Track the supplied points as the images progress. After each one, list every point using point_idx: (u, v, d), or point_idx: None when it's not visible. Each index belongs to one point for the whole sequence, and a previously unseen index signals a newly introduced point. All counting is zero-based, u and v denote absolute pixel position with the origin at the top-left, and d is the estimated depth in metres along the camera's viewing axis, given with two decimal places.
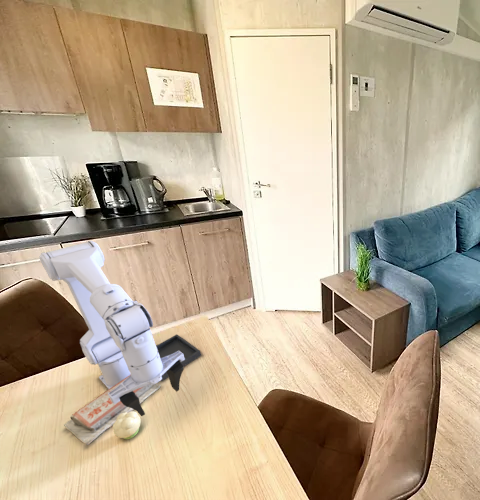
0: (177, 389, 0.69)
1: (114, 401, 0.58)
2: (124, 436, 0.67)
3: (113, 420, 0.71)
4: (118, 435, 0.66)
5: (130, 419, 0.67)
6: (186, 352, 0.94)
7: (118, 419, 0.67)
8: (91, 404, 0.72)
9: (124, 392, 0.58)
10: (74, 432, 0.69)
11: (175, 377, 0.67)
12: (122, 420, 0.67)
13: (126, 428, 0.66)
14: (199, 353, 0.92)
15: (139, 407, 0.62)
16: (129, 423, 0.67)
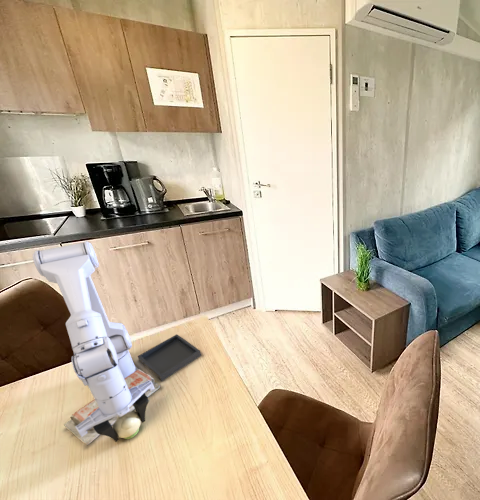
0: (143, 420, 0.70)
1: (81, 434, 0.60)
2: (124, 436, 0.67)
3: (113, 420, 0.71)
4: (118, 435, 0.66)
5: (130, 419, 0.67)
6: (186, 352, 0.94)
7: (118, 419, 0.67)
8: (91, 404, 0.72)
9: (91, 425, 0.61)
10: (74, 432, 0.69)
11: (140, 410, 0.68)
12: (122, 420, 0.67)
13: (126, 428, 0.66)
14: (199, 353, 0.92)
15: (113, 434, 0.65)
16: (129, 423, 0.67)
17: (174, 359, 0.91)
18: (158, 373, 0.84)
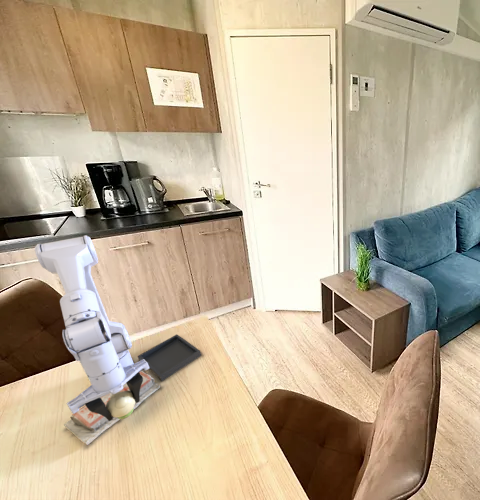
0: (137, 400, 0.69)
1: (73, 411, 0.58)
2: (118, 415, 0.65)
3: (113, 420, 0.71)
4: (112, 414, 0.65)
5: (124, 398, 0.66)
6: (186, 352, 0.94)
7: (112, 398, 0.65)
8: None
9: (83, 402, 0.59)
10: (74, 432, 0.69)
11: (134, 389, 0.67)
12: (116, 399, 0.65)
13: (120, 407, 0.65)
14: (199, 353, 0.92)
15: (106, 412, 0.63)
16: (123, 402, 0.65)
17: (174, 359, 0.91)
18: (158, 373, 0.84)
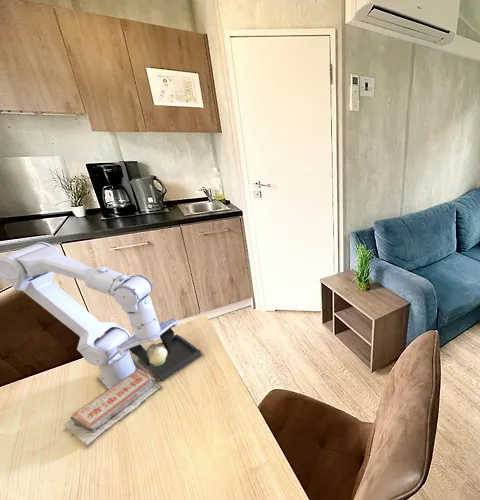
0: (169, 352, 0.82)
1: (121, 353, 0.72)
2: (154, 362, 0.78)
3: (113, 420, 0.71)
4: (149, 360, 0.78)
5: (159, 348, 0.79)
6: (186, 352, 0.94)
7: (149, 347, 0.79)
8: (91, 404, 0.72)
9: (129, 346, 0.73)
10: (74, 432, 0.69)
11: (167, 341, 0.80)
12: (152, 348, 0.79)
13: (156, 354, 0.78)
14: (199, 353, 0.92)
15: (145, 358, 0.77)
16: (158, 351, 0.79)
17: (174, 359, 0.91)
18: (158, 373, 0.84)
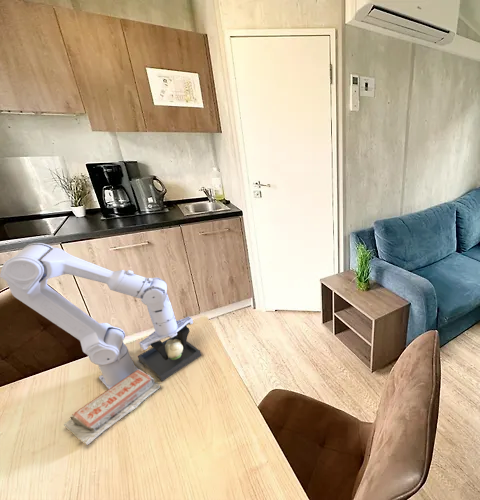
0: (184, 347, 0.91)
1: (144, 348, 0.80)
2: (172, 356, 0.87)
3: (113, 420, 0.71)
4: (168, 355, 0.87)
5: (176, 343, 0.88)
6: (186, 352, 0.94)
7: (167, 343, 0.87)
8: (91, 404, 0.72)
9: (150, 342, 0.81)
10: (74, 432, 0.69)
11: (183, 337, 0.89)
12: (170, 344, 0.87)
13: (174, 349, 0.87)
14: (199, 353, 0.92)
15: (164, 352, 0.85)
16: (176, 346, 0.87)
17: None
18: (158, 373, 0.84)
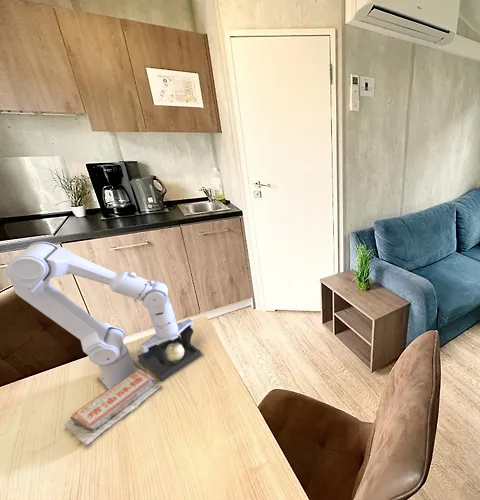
0: (188, 347, 0.92)
1: (144, 350, 0.81)
2: (173, 359, 0.88)
3: (113, 420, 0.71)
4: (169, 358, 0.87)
5: (177, 347, 0.88)
6: (186, 352, 0.94)
7: (168, 347, 0.88)
8: (91, 404, 0.72)
9: (151, 344, 0.82)
10: (74, 432, 0.69)
11: (187, 337, 0.90)
12: (172, 347, 0.88)
13: (175, 353, 0.87)
14: (199, 353, 0.92)
15: (161, 357, 0.85)
16: (177, 350, 0.88)
17: None
18: (158, 373, 0.84)
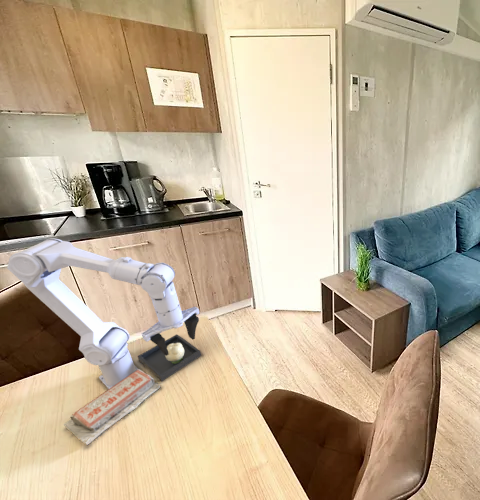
0: (193, 337, 0.85)
1: (146, 339, 0.74)
2: (173, 359, 0.88)
3: (113, 420, 0.71)
4: (169, 358, 0.87)
5: (177, 347, 0.88)
6: (186, 352, 0.94)
7: (168, 347, 0.88)
8: (91, 404, 0.72)
9: (154, 333, 0.75)
10: (74, 432, 0.69)
11: (192, 326, 0.83)
12: (172, 347, 0.88)
13: (175, 353, 0.87)
14: (199, 353, 0.92)
15: (164, 347, 0.78)
16: (177, 350, 0.88)
17: None
18: (158, 373, 0.84)
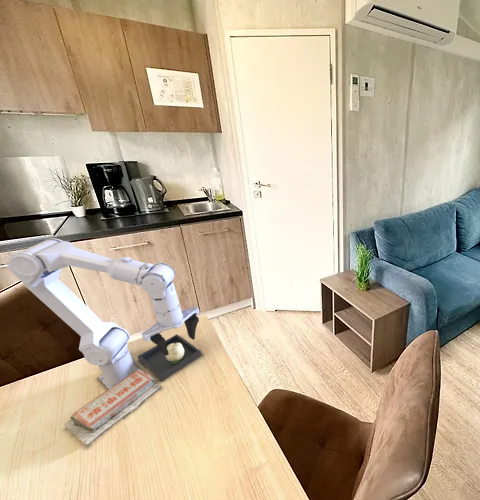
0: (193, 337, 0.85)
1: (146, 339, 0.74)
2: (173, 359, 0.88)
3: (113, 420, 0.71)
4: (169, 358, 0.87)
5: (177, 347, 0.88)
6: (186, 352, 0.94)
7: (168, 347, 0.88)
8: (91, 404, 0.72)
9: (154, 333, 0.75)
10: (74, 432, 0.69)
11: (192, 326, 0.83)
12: (172, 347, 0.88)
13: (175, 353, 0.87)
14: (199, 353, 0.92)
15: (164, 347, 0.78)
16: (177, 350, 0.88)
17: None
18: (158, 373, 0.84)
